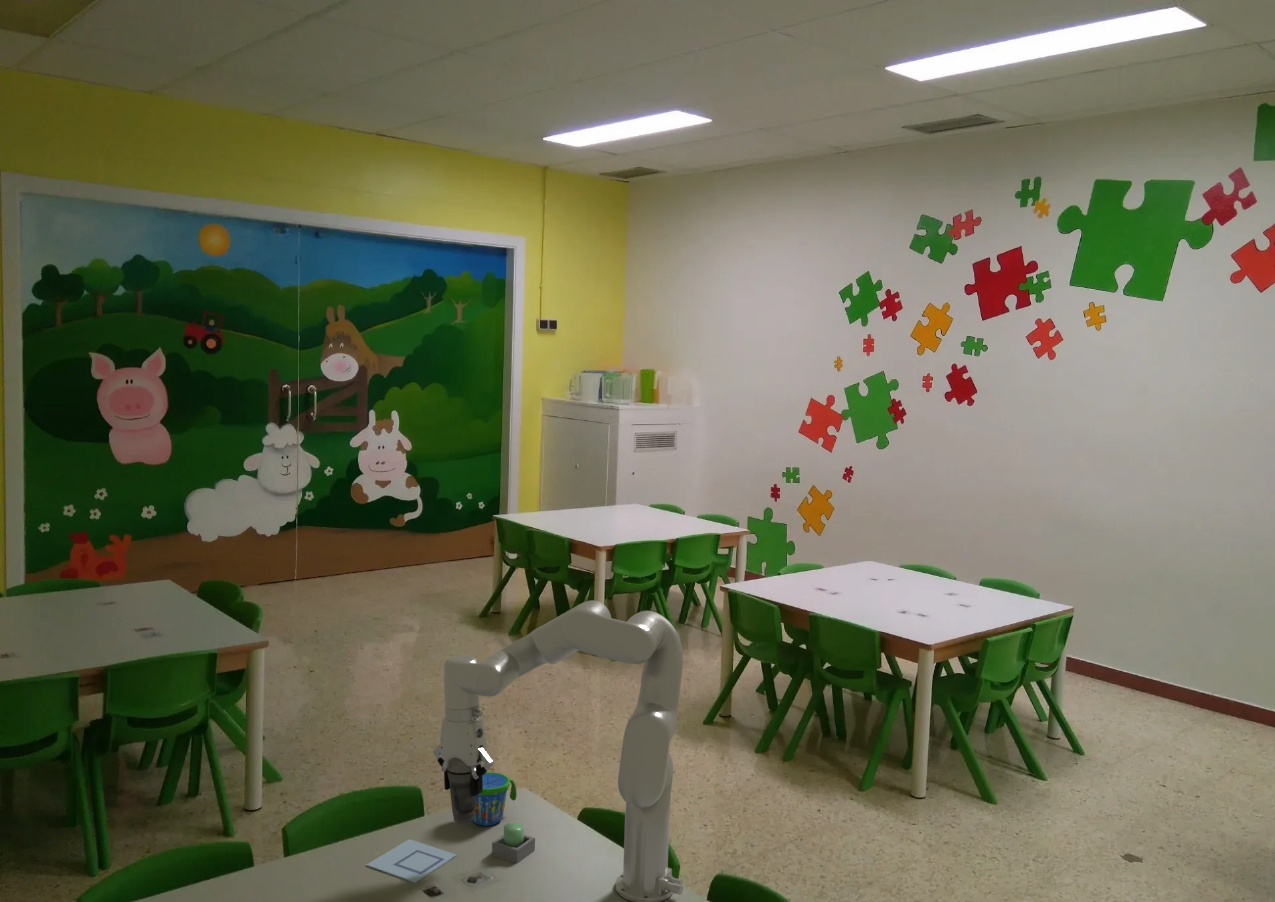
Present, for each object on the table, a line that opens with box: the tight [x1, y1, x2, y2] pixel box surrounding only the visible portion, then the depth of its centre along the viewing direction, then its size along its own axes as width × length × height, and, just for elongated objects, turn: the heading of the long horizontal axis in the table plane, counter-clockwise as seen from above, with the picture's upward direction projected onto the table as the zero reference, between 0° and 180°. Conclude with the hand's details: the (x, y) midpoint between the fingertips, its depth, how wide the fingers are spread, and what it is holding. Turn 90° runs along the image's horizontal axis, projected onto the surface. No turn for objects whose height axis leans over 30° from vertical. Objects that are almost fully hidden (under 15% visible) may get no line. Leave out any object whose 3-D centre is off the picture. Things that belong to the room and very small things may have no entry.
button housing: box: [491, 834, 536, 864], centre depth 225 cm, size 7×7×3 cm
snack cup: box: [471, 771, 518, 827], centre depth 240 cm, size 16×10×10 cm
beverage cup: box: [446, 757, 478, 824], centre depth 218 cm, size 7×7×20 cm
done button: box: [503, 822, 525, 848], centre depth 225 cm, size 5×5×4 cm
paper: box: [365, 838, 458, 884], centre depth 220 cm, size 14×14×1 cm
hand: (463, 790), depth 218 cm, fingers closed on beverage cup, 6 cm apart
